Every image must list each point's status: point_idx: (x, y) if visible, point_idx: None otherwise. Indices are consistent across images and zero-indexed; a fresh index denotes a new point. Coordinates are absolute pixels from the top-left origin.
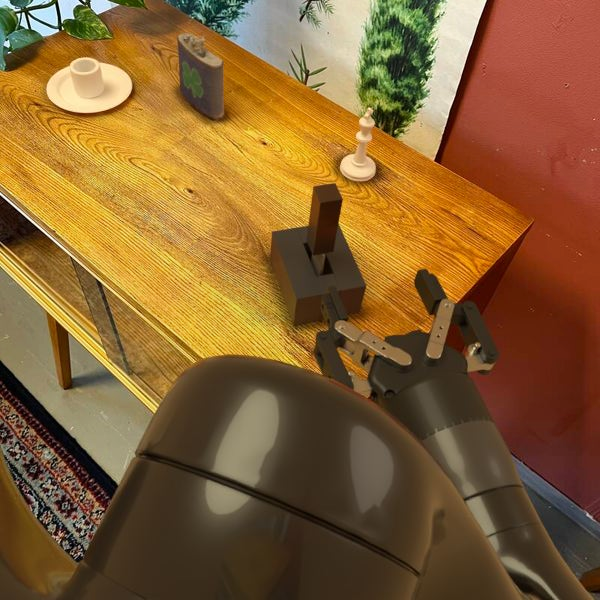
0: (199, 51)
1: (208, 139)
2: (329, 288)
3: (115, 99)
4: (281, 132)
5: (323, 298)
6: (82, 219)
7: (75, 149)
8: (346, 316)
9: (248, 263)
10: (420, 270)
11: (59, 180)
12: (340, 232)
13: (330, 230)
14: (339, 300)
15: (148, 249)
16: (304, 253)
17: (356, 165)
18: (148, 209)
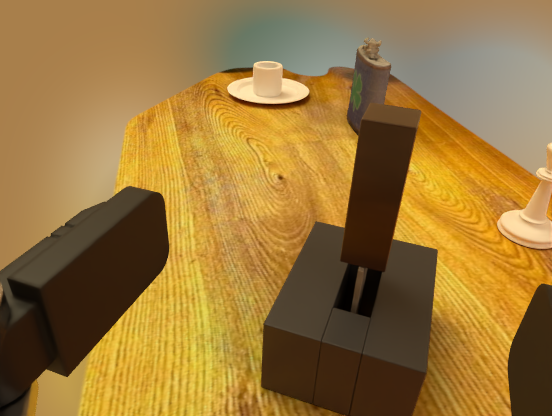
0: (371, 55)
1: (343, 148)
2: (131, 188)
3: (280, 100)
4: (436, 167)
5: (89, 210)
6: (150, 160)
7: (210, 119)
8: (40, 279)
9: (276, 268)
10: (549, 285)
11: (170, 131)
12: (431, 265)
13: (380, 211)
14: (106, 226)
15: (177, 205)
16: (342, 266)
17: (525, 221)
18: (220, 175)
